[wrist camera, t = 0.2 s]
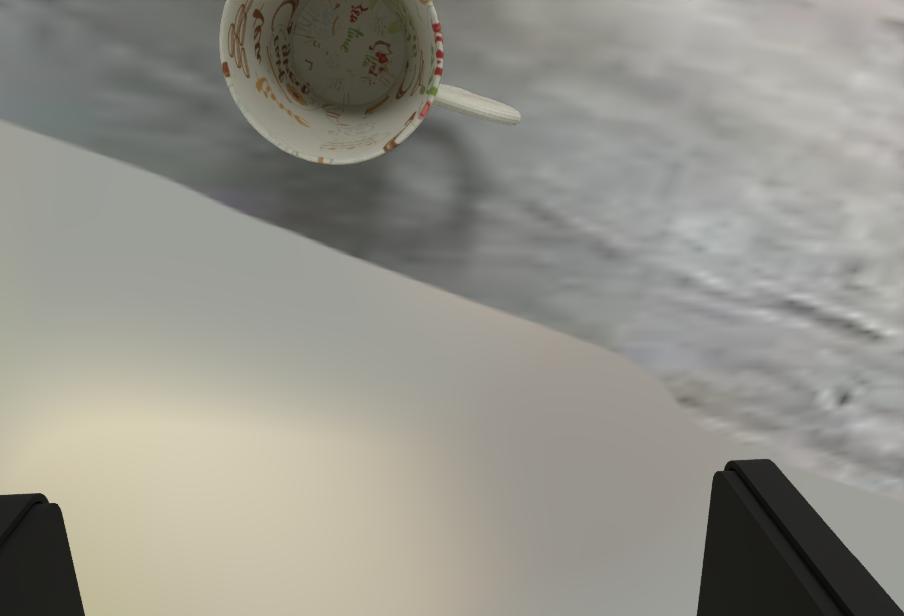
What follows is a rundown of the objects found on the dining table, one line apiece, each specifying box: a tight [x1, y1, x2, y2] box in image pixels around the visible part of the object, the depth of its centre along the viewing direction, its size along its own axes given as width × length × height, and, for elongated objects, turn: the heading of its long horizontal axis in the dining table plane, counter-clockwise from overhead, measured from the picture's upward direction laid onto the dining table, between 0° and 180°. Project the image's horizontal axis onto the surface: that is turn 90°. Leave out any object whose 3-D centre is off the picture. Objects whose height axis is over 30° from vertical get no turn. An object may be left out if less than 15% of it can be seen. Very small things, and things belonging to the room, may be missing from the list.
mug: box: [219, 0, 521, 165], centre depth 34 cm, size 8×13×10 cm, turn 72°
